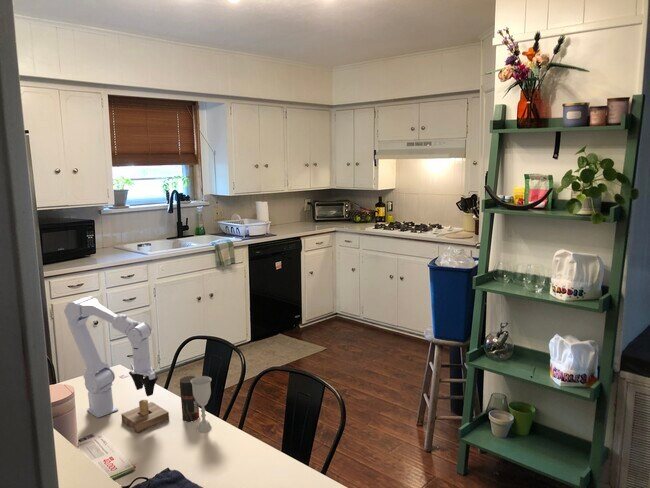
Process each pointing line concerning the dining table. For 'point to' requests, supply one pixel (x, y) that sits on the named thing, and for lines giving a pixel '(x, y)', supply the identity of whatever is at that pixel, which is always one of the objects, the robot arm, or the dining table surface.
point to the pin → (143, 407)
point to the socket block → (145, 417)
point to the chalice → (202, 398)
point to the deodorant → (188, 400)
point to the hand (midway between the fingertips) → (144, 392)
